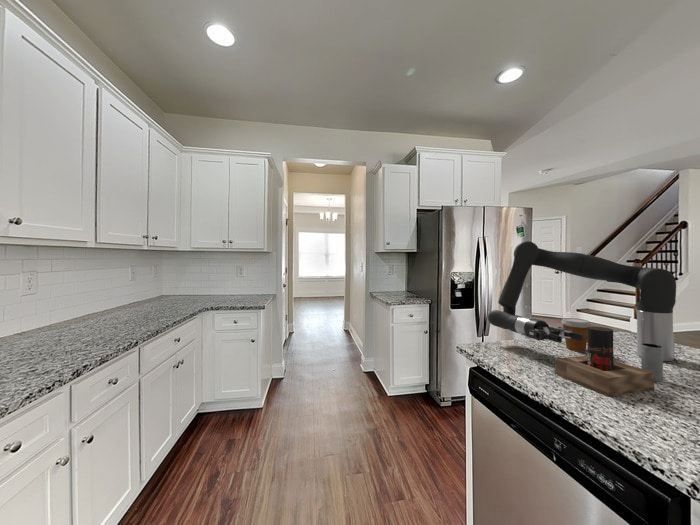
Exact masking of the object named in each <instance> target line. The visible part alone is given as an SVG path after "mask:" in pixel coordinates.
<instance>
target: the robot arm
mask: <svg viewBox="0 0 700 525" xmlns="http://www.w3.org/2000/svg"><path fill="white" fill-rule="evenodd" d="M513 257H514V258H513V262H512V267H511V269H510V272H509V273H508V274H509V275H508V277H507V279H506V281H505V283H504V285H503V288H502V290H501V292H500V295H499V298H498V302H497V303H498V304H499V305H500V306H501V307H503V310H498V309H494V310H491V311H490V312H489V313H488V315H487V321H488V322H489V323H490V324H491V326H493V327H497V328H501V329H503V330H507V331H508V330H509V331H511V332H513V333H516V334H520V335H522V336H524V337H528V338H531V339H533V340H537V341H545V340H546V341H552V342H554V343H559V344H561V343H563V340H565V338H570V339H574V340H578V341H583V335H582V334H578V333H575V330H570V329H566V328H563V327H560V326H558V327H555V326H549V324H548V322H546V321H545V320H541V319H537V318H533V317H529V316H522V315H518V314H516V308H517V307H516V306H517V304H518V301H519V300H520V299H519V298H520V296H521V293H522V290H523V287H524V283H525V282H526V281H525V280H526V277H527V275H528V273H529V271H530V269H531V268H532V266H538V267H545V268H548V269H551V270H555V271H559V272H562V273H565V274H569V275H574V276H577V277H582V278H585V279H590V280H591V279H592V280H597V281H607V282H614V283H619V284H622V285H626V286H628V287H632V288H636V289H637V290H639V291H640V292H639V293H640V294H639V296H640V297H639V300H638V302H637V303H636V329H637V330H636V340H637V342H636V343H637V344H636V351H637V352H636V353H637V354H636V355H637V356H639V357H641V344H643V343H648V344H655V345H660V346H662V347H663V362H673V361H674V360H675V333H674V308H675V305H676V300H677V299H676V298H677V281H676V277H675V275H674V274H673V273H672V272H671V271H669V270H667V269H664V268H657V267H642V266H633V265H626V264H622V263H618V262H615V261H613V260H610V259H606V258H602V257H600V256H596V255H591V254H585V253H581V252H580V253H579V252H572V251H571V252H570V251H569V252H567V251H552V250H547V249H544V248H539V247H538V245H537V244H536V243H535V242H532V241H529V240H528V241H526V240H525V241H522V242H520V243H518V244H517V245H516V247H515V248H514V251H513Z"/></svg>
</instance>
